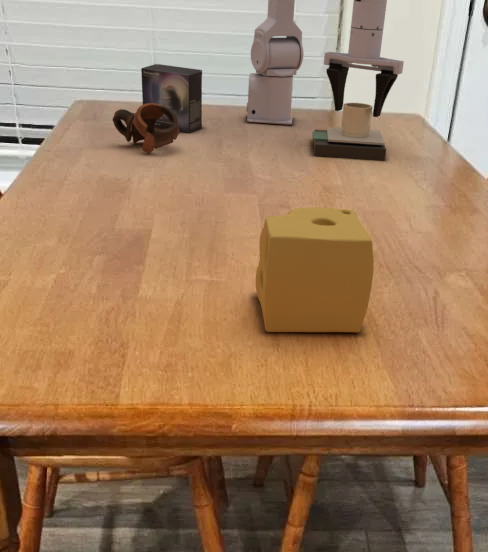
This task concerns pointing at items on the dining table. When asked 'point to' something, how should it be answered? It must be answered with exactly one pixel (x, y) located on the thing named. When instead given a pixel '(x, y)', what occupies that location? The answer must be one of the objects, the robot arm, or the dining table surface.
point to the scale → (348, 145)
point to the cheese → (314, 271)
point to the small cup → (356, 120)
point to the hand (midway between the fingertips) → (357, 113)
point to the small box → (174, 94)
